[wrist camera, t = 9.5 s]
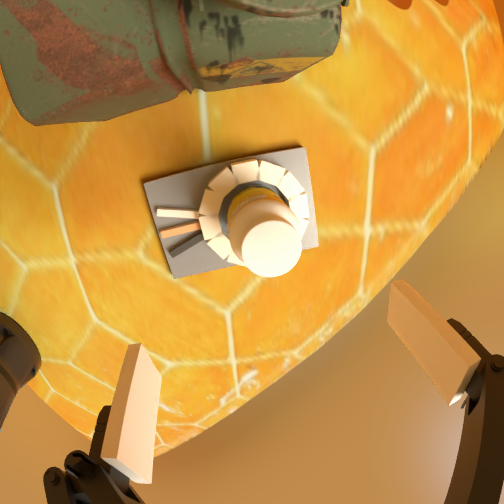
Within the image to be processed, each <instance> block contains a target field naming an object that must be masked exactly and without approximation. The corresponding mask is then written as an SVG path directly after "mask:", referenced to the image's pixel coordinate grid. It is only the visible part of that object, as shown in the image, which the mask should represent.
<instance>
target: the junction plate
mask: <svg viewBox="0 0 504 504" xmlns="http://www.w3.org/2000/svg"><path fill="white" fill-rule="evenodd" d="M254 185H259V186H264V187H267V188H269V189H271V190H272V191H274V192H275V193H276V194H277V195H278V196H279V197H280V198H281V199H282V200H283V201H284V202H285V204H286V205H287V206H288V207H289V208H290V209H291V210H292V211H293V212H294V214H295V215H296V217H297V219H298V221H299V224H300V228H301V244H302V250H305V249H309V248H313V247H318V246H319V245H318V235H317V226H316V218H315V209H314V201H313V194H312V186H311V179H310V172H309V166H308V159H307V153H306V147H297V148H291V149H285V150H279V151H273V152H268V153H263V154H257V155H252V156H247V157H242V158H238V159H233V160H228V161H224V162H220V163H215V164H211V165H207V166H203V167H199V168H195V169H191V170H187V171H183V172H179V173H175V174H172V175H168V176H165V177H161V178H158V179H154V180H151V181H147V182H145V183H144V188H145V191H146V195H147V198H148V202H149V205H150V208H151V212H152V215H153V218H154V221H155V224H156V228H157V231H158V234H159V237H160V240H161V243H162V246H163V249H164V252H165V255H166V258H167V261H168V264H169V266H170V269H171V272H172V275H173V278H174V279H176V278H181V277H185V276H190V275H194V274H199V273H203V272H208V271H212V270H217V269H221V268H226V267H230V266H235V265H242V266H246V265H245V264H244V263H243V262H242V261H241V260H239V259H238V257H237V256H236V255H235V254H234V252H233V250H232V247H231V244H230V240H229V231H228V219H227V211H228V206H229V203H230V201H231V199H232V197H233V196H234V195H235V194H236V193H237V192H238V191H240V190H241V189H243V188H245V187H248V186H254ZM246 267H247V266H246Z"/></svg>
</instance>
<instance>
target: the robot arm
mask: <svg viewBox="0 0 504 504" xmlns="http://www.w3.org/2000/svg"><path fill="white" fill-rule="evenodd" d="M387 323H388V324H389V325H390V326H391V328H392V329H393V330H394V332H395V333H396V334H397V335H398V337H399V338H400V339H401V341H402V342H403V343H404V345H405V346H406V347H407V349H408V350H409V351H410V352H411V354H412V355H413V357H414V358H415V359H416V360H417V362H418V363H419V365H420V366H421V367H422V369H423V370H424V371H425V373H426V374H427V376H428V377H429V378H430V380H431V381H432V383H433V384H434V385H435V387H436V388H437V390H438V391H439V393H440V394H441V395H442V397H443V398H444V400H445V401H446V403H447V404H448V405H451V404H452V403H454V402H456V401H457V400H459V399H460V398H461V397H462V395H463V393H464V391H466V392H467V393H468V396H467V397H466V399H465V401H464V402H463V404H462V407H461V408H464V406H465V404H466V408H465V416H464V424H463V429H462V435H461V441H460V446H459V451H458V456H457V460H456V464H455V468H454V472H453V476H452V479H451V483H450V487H449V490H448V493H447V496H446V499H445V502H444V504H498V503H499V499H500V495H501V490H502V486H503V481H504V357H503V356H501V355H498V354H496V355H491V354H490V353H489V352H488V351H487V350H486V349H485V348H484V347H483V346H482V344H481V343H480V342H479V341H478V340H477V339H476V338H475V337H474V336H472V334H471V333H470V332H469V331H467V329H466V328H465V327H464V326H463V325H462V324H461V323H460V322H458V321H456V320H454V319H452V318H451V319H449V320H447V321H446V320H445V319H444V318H443V317H442V316H441V315H440V314H439V313H438V312H437V311H436V310H435V309H434V308H433V307H432V306H431V305H430V304H428V303H427V301H426V300H425V299H424V298H422V297H421V296H420V295H419V294H418V293H417V292H416V291H415V290H414V289H413V288H412V287H411V286H410V285H409V284H408V283H407V282H406V281H404V280H403V279H400V280H397V281H394V282H391V287H390V299H389V309H388V319H387ZM40 367H41V357H40V354H39V351H38V349H37V347H36V345H35V344H34V342H33V341H32V339H31V338H30V337H29V335H28V334H27V333H26V332H25V331H24V330H23V329H22V328H21V327H20V326H19V325H18V324H17V323H16V322H15V321H14V320H12V319H11V318H9V317H8V316H6V315H4V314H2V313H0V432H1V427H2V425H3V422H4V420H5V418H6V415H7V413H8V411H9V409H10V406H11V404H12V402H13V400H14V398H15V396H16V394H17V392H18V390H19V389H20V388H21V387H23V385H25V384H26V383H27V382H29V381H30V380H31V379H32V378H34V377H35V376H36V374H37V372H38V371H39V369H40ZM161 381H162V377H161V376H160V374H159V372H158V371H157V369H156V367H155V366H154V364H153V362H152V361H151V359H150V357H149V356H148V354H147V352H146V350H145V349H144V347H143V345H142V343H139V344H132V345H128V349H127V352H126V355H125V359H124V362H123V365H122V369H121V372H120V376H119V380H118V383H117V387H116V391H115V394H114V398H113V402H112V405H111V406H104V407H103V408H102V410H101V411H100V413H99V415H98V419H97V425H96V427H95V432H94V435H93V439H92V444H91V449H90V453H89V456H88V455H87V454H86V453H85V452H83V451H80V450H76V451H73V452H71V453H69V454H68V455H67V457H66V459H65V462H64V467H65V470H66V472H64V471H62V470H61V469H59V468H57V467H51V468H49V469H47V471H46V472H45V474H44V478H43V479H44V480H43V481H44V487H45V493H46V498H47V502H48V504H145V503H144V501H143V500H142V499H141V498H140V497H139V495H138V494H137V493H136V491H135V490H134V489H133V487H132V486H131V485H129V479H131V480H133V481H134V482H136V483H149V484H151V483H152V468H153V454H154V442H155V432H156V422H157V413H158V404H159V396H160V388H161Z"/></svg>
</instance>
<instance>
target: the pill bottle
mask: <svg viewBox="0 0 504 504" xmlns="http://www.w3.org/2000/svg"><path fill="white" fill-rule="evenodd" d="M227 219H228V231H229V240H230V244H231V247H232V250H233V252H234V254H235V255H236V256H237V257H238V259H239V260H241V261H242V262H243V263H244V264H245V265H246V266H247V268H248V269H249V270H250V271H252V272H253V273H255V274H257V275H259V276H263V277H276V276H280V275H282V274H284V273H286V272H288V271H289V270H290V269H292V268H293V267H294V266H295V264H296V263H297V261H298V259H299V257H300V255H301V250H302V244H301V228H300V224H299V221H298V219H297V217H296V215H295V214H294V212H293V211H292V210H291V209H290V208H289V207H288V206H287V205H286V204H285V202H284V201H283V200H282V199H281V198H280V197H279V196H278V195H277V194H276V193H275V192H274V191H272V190H271V189H269V188H267V187H264V186H259V185H254V186H248V187H245V188H243V189H241V190H240V191H238V192H237V193H236V194H235V195H234V196H233V197H232V199H231V201H230V203H229V206H228V211H227Z"/></svg>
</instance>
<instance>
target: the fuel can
mask: <svg viewBox="0 0 504 504" xmlns="http://www.w3.org/2000/svg"><path fill="white" fill-rule="evenodd" d="M341 5H342V6H346V7H347V6H348V5H349V0H0V65H1V69H2V72H3V75H4V78H5V81H6V84H7V87H8V90H9V92H10V95H11V98H12V100H13V103H14V104H15V106H16V108H17V110H18V111H19V113H20V115H21V116H22V117H23V118H24V119H25V120H26V121H28V122H29V123H31V124H33V125H34V126H40V125H50V124H60V123H73V122H90V121H107V120H109V119H112V118H115V117H118V116H121V115H124V114H127V113H130V112H133V111H137V110H140V109H143V108H146V107H150V106H153V105H157V104H161V103H164V102H167V101H170V100H172V99H174V98H176V97H178V94H179V93H180V92H181V91H183V90H185V89H187V90H188V92H189V93H190V94H191V93H192V90H193V89H194V88H198V89H202V90H203V91H205V92H211V91H219V90H225V89H231V88H237V87H244V86H252V85H260V84H269V83H279V82H284V81H286V80H288V79H289V78H291V77H293V76H294V75H296V74H298V73H300V72H301V71H303V70H305V69H307V68H309V67H310V66H312V65H314V64H316V63H318V62H320V61H322V60H323V59H325V58H327V57H329V56H331V55H333V53H334V51H335V49H336V47H337V45H338V42H339V39H340V31H341V20H342V19H341Z"/></svg>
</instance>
